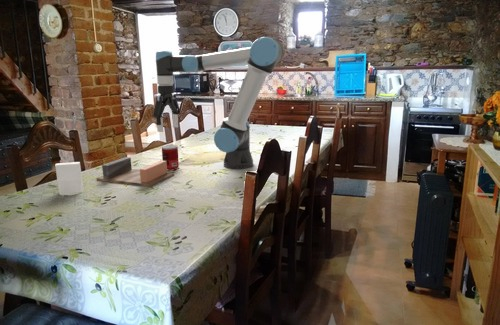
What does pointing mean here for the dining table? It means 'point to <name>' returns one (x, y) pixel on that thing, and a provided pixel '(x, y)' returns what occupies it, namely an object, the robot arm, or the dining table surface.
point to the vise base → (127, 174)
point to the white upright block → (69, 178)
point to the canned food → (170, 156)
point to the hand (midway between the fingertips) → (168, 129)
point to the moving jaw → (153, 171)
